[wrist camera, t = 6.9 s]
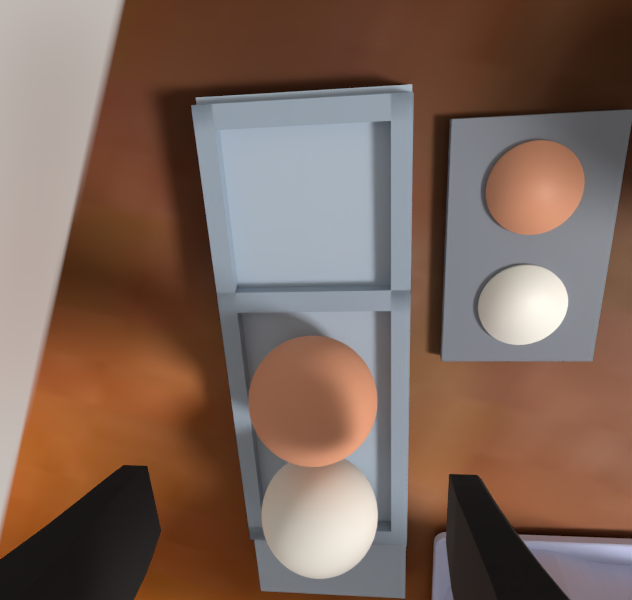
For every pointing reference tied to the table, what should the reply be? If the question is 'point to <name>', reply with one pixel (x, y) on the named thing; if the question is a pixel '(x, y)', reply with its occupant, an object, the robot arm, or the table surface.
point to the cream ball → (319, 518)
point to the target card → (529, 233)
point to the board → (316, 280)
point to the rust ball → (312, 401)
